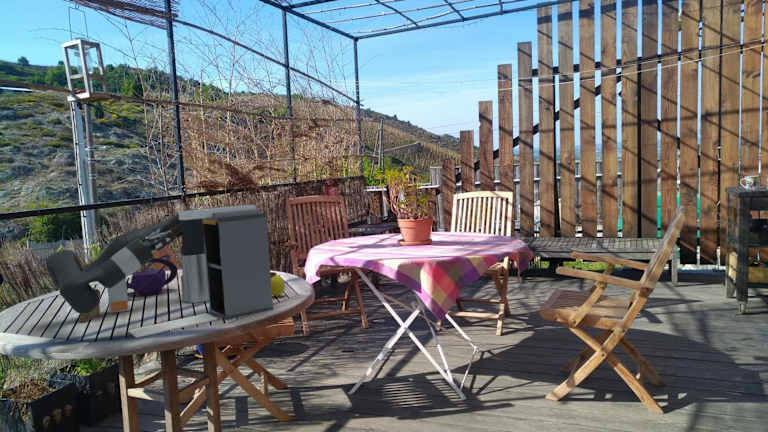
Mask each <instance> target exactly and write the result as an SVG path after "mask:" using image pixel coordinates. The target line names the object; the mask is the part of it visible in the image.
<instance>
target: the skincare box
mask: <svg viewBox="0 0 768 432" xmlns="http://www.w3.org/2000/svg"><path fill="white" fill-rule="evenodd" d="M126 281H127V277H126V278H125V279H123V280H122V281H120V282H119V283H118V284H116V285H115V286H114V287H112V288H107V296H108V297H107V299H108V307H109V308H108V309H109V314H113V313H121V312H129V310H130V309H129V308H130V307H129V300H128V299H129V298H128V297H129V296H127V293H128V290H127V285H126Z"/></svg>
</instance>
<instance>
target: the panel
mask: <svg viewBox="0 0 768 432" xmlns="http://www.w3.org/2000/svg"><path fill="white" fill-rule="evenodd" d="M254 209H257V205H255V204H247V205H236V206H235V205H234V206H226V207H225V206H224V207H215V208H205V209H204V208H203V209H196V210H195V209H190V210H191V211H184V210H182V211H178V213H179V220H191V219H200V218H210V217H215V213H224V212H234V211H244V210H254ZM178 213H177V214H178Z"/></svg>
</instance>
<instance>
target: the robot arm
mask: <svg viewBox="0 0 768 432" xmlns="http://www.w3.org/2000/svg"><path fill="white" fill-rule="evenodd" d="M191 210H192V209H185V210H183V211H191ZM180 237H181V246H180V258H181V269H182V274H181V275H180V283H181V285H180V286H181V297H182V302H185V303H189V304H195V303H203V302H207V301H209V295H208V283H207V271H206V260H205V248H204V236H203V225H202V218H200V219H191V220H179V213H177V214H174V215H173V216H171V217H168V218H166V219H164V220H162V221H159V222H156V223H152V224H148V225H145V226H142V227H139V228H136V229H132V230H130V231H126V232H125V233H122V234H120V235H117V236H116V237H114V238H113V240H111V242H110V243H109V244H108V245H107V246H106V247H105V249H104V250H103V251H102V252H101V254H100V255H99V256H98V257H97V258H96V259H94V260H93V261H92V262H90V263H89V264H87V265H86V266H85V265H84V266H82V263H81V260H80V258H79V257H78V255H77V253H76V252H75V251H74V250H70V249H64V250H59V251H57V252H54V253H52V254H50V255H49V256H48V257H47V258H46V260H45V267H46V270H47V272H48V274H49V276H50V279H51V281H52V283H53V285H54V287H56V288H57V289H59V290H58V292H59V294H60V296H61V297H62V299H63V300H64V301H65V302H66V303H67V304H68V305H69V306H70V307H71V309H72V310H74V312H76V313H77V314H80V315H81V314H85V313H89V312H91V311H93V310H94V309H95V308H96V307H97V306H98V304H99V300H100V301H101V297H100V298H99V295H98V294H97V293H96V291H95V289H94V288H93V287H92V285H90V283H92V282H98V283H99V284H101V286H103V287H105V288H106V289H108V288H112V287H114V286H115V285H116V284H118V283H119V282H120V281H122V280H123V279H125V278H126V279H127V277H129V276H132V275H133V273H134V272H138V270H140V269H141V268H143V267H145V265H147V264H149V263H150V262H149V261H151V260H152V259H153V258H155V257H154V254H153V253H152V251H153V252H154V251H155V250H157V252H158V251H161V250H162V249H163V248H165V247H167V246H168V245H169V244H170V243H172V242H174V241H175V240H176V239H177V238H180Z"/></svg>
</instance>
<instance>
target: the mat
mask: <svg viewBox="0 0 768 432" xmlns="http://www.w3.org/2000/svg"><path fill="white" fill-rule="evenodd" d="M217 320H219V319H218V318H217V317H215V316H213V315H211V314H209V313H207V312H206V313H202V314H197V315H193V316H188V317H183V318H179V319H174V320H173V319H172V320H169V321H165V322H160V323H157V324H151V325H146V326H141V327H138V328H137V327H136V328H133V329H128V330H127V332H128V333H129V334H131V335H132V336H133V337H135V338H137V339H138V338H141V337H145V336H146V337H147V336H151V335H155V334H158V333H164V332H169V331H173V330H177V329H181V328H186V327H191V326H195V325H199V324H204V323H208V322H211V321H212V322H213V321H217Z"/></svg>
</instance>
